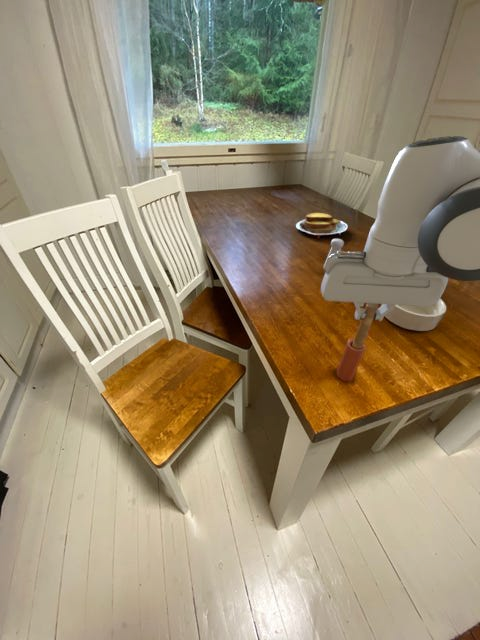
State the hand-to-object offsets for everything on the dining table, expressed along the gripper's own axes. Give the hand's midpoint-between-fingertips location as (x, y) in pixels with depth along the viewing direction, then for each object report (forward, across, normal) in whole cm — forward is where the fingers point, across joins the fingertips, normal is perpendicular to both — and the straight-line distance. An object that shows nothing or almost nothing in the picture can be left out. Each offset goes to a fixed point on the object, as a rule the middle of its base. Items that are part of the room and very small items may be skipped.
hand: (367, 318), depth 54 cm
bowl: (+17, +24, +26) cm, 39 cm away
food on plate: (+17, +7, +95) cm, 97 cm away
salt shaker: (+17, +4, +50) cm, 54 cm away
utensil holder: (+17, 0, 0) cm, 17 cm away
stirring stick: (+15, 0, 0) cm, 15 cm away
